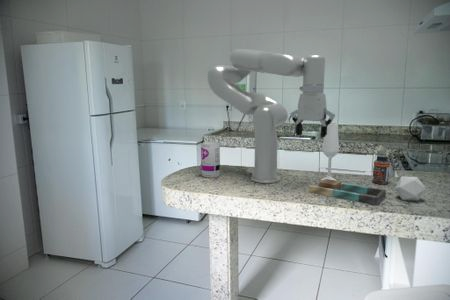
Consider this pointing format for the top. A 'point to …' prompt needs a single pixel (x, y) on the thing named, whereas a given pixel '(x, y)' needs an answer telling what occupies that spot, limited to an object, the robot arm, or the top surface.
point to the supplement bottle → (381, 170)
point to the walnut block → (330, 184)
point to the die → (410, 188)
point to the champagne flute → (331, 146)
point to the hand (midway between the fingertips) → (311, 135)
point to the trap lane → (351, 196)
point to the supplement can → (210, 159)
